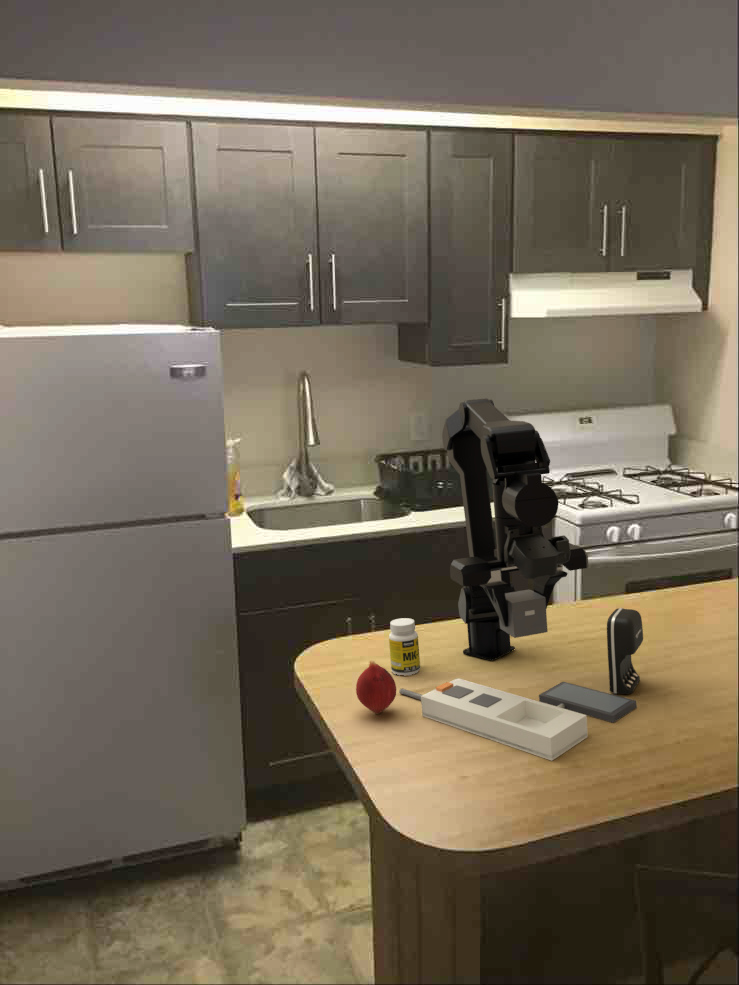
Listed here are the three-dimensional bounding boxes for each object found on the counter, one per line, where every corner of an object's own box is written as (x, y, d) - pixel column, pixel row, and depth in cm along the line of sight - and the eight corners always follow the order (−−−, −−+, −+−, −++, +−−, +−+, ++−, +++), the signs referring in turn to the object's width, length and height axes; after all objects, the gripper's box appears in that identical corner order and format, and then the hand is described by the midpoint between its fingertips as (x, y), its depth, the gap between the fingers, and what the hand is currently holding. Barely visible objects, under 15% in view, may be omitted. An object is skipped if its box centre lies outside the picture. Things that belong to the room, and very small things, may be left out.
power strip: (381, 701, 126) (379, 680, 125) (418, 684, 131) (416, 663, 131) (551, 760, 104) (550, 734, 103) (587, 736, 109) (586, 712, 108)
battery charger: (635, 698, 119) (632, 621, 117) (608, 694, 121) (605, 618, 119) (646, 679, 125) (643, 606, 123) (620, 676, 127) (617, 604, 125)
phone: (512, 716, 117) (511, 709, 117) (563, 687, 125) (562, 680, 125) (587, 740, 108) (587, 732, 108) (636, 707, 116) (636, 700, 116)
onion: (403, 705, 124) (398, 654, 123) (391, 722, 118) (386, 668, 117) (366, 703, 126) (361, 652, 124) (352, 720, 120) (347, 667, 119)
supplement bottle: (405, 678, 134) (401, 628, 133) (385, 672, 138) (381, 623, 136) (426, 669, 137) (422, 620, 136) (406, 663, 141) (402, 615, 139)
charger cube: (500, 628, 121) (497, 594, 120) (531, 622, 122) (529, 589, 121) (514, 638, 116) (512, 603, 115) (547, 632, 117) (545, 597, 116)
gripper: (473, 533, 107) (482, 650, 109) (605, 514, 111) (611, 627, 113) (444, 520, 117) (453, 627, 120) (566, 503, 122) (572, 607, 124)
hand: (522, 623), depth 119 cm, fingers closed on charger cube, 5 cm apart
